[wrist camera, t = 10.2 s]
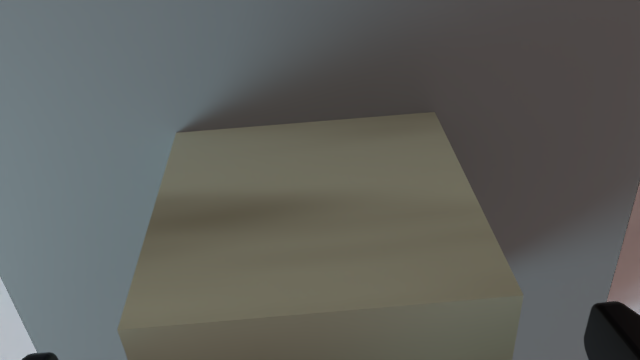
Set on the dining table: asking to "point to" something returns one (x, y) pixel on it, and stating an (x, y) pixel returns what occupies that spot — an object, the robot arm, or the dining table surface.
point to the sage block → (320, 249)
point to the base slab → (310, 106)
